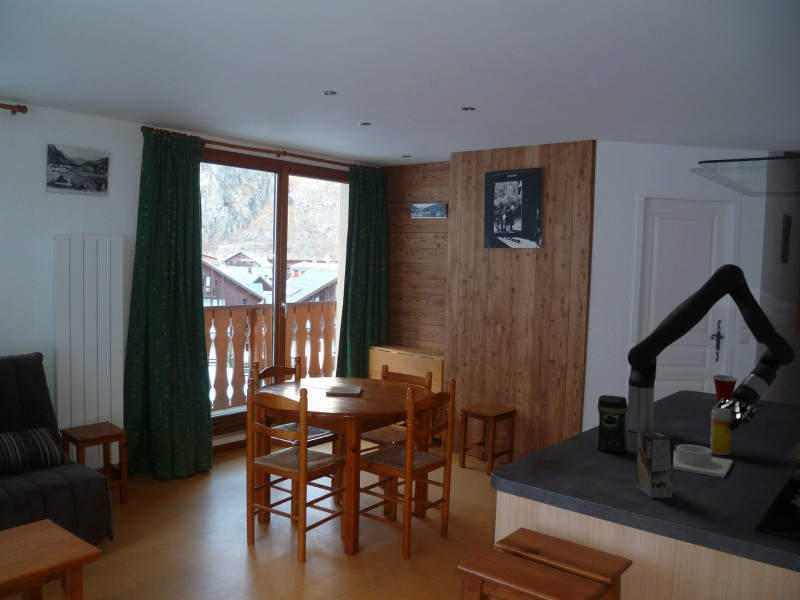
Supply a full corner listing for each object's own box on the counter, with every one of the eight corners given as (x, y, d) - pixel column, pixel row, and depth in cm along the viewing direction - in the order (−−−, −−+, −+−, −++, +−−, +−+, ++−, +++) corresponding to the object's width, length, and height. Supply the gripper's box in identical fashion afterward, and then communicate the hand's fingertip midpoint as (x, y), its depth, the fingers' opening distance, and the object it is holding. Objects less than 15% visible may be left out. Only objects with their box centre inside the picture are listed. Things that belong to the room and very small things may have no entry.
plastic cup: (715, 403, 300) (716, 378, 299) (708, 399, 310) (709, 374, 310) (740, 404, 298) (741, 379, 298) (732, 400, 309) (733, 375, 308)
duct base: (653, 465, 200) (654, 449, 200) (666, 452, 215) (666, 437, 215) (724, 477, 189) (724, 461, 189) (732, 463, 204) (733, 447, 204)
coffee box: (673, 498, 171) (675, 438, 171) (650, 498, 171) (652, 439, 170) (656, 486, 181) (658, 430, 180) (635, 487, 180) (636, 430, 179)
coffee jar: (628, 449, 219) (629, 395, 218) (624, 454, 212) (625, 399, 211) (599, 445, 224) (600, 392, 223) (594, 450, 217) (595, 396, 216)
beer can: (732, 456, 212) (734, 411, 211) (712, 455, 213) (714, 410, 212) (727, 451, 217) (728, 408, 217) (707, 450, 219) (709, 407, 218)
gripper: (728, 380, 223) (699, 414, 221) (761, 387, 210) (731, 423, 207) (740, 394, 225) (711, 428, 222) (773, 402, 211) (744, 438, 209)
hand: (721, 426), depth 215 cm, fingers open, 8 cm apart
